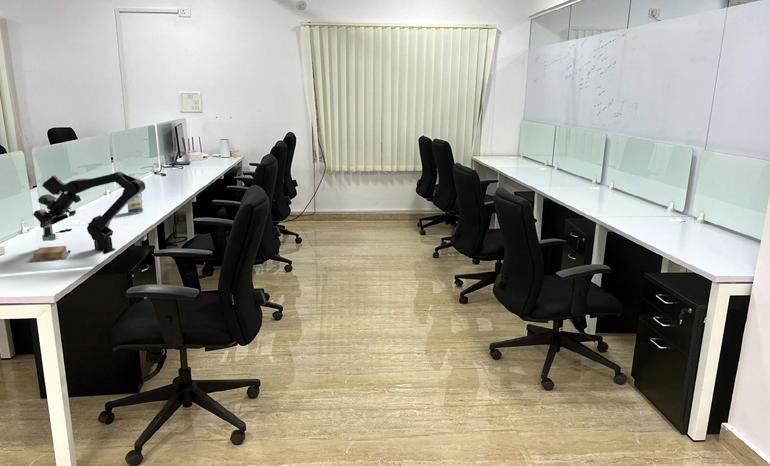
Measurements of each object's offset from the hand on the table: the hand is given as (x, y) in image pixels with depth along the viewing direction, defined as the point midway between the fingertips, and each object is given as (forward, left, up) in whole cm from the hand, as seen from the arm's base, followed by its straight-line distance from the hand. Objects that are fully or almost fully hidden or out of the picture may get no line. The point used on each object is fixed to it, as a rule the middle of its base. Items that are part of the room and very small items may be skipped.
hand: (45, 225), depth 244 cm
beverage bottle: (+12, -80, -11) cm, 82 cm away
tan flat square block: (-12, +12, -10) cm, 20 cm away
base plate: (-12, +12, -11) cm, 20 cm away
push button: (-1, 0, -7) cm, 7 cm away
